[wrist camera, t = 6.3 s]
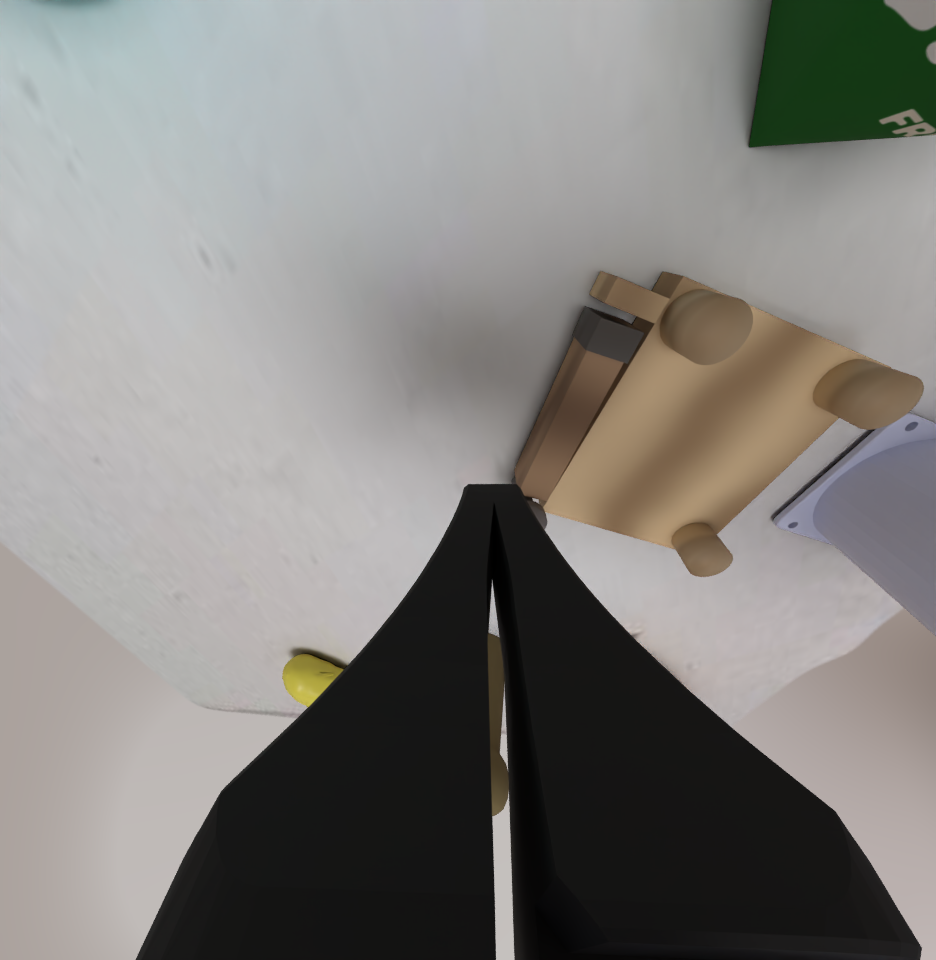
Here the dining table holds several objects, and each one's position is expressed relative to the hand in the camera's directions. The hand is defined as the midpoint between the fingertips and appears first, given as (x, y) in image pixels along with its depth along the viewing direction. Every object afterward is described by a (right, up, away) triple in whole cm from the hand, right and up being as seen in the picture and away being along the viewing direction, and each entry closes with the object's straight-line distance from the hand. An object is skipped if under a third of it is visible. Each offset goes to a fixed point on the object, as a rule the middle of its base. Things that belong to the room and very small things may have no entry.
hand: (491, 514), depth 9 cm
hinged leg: (+4, +5, +8) cm, 10 cm away
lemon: (-14, -17, +25) cm, 33 cm away
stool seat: (+9, +3, +9) cm, 13 cm away
